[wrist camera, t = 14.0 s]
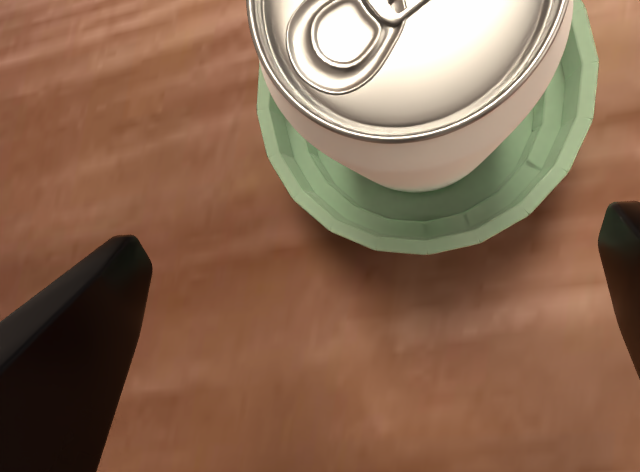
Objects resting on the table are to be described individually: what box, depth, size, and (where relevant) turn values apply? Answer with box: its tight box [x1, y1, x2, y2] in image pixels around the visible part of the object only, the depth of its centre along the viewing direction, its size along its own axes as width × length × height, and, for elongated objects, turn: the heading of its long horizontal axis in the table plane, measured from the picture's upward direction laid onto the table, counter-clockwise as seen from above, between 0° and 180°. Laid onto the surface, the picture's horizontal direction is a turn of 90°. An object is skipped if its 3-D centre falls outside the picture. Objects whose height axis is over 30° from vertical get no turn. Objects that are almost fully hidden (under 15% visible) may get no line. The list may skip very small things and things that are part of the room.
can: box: [246, 0, 573, 193], centre depth 14 cm, size 6×6×12 cm
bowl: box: [257, 0, 599, 255], centre depth 18 cm, size 11×11×4 cm
